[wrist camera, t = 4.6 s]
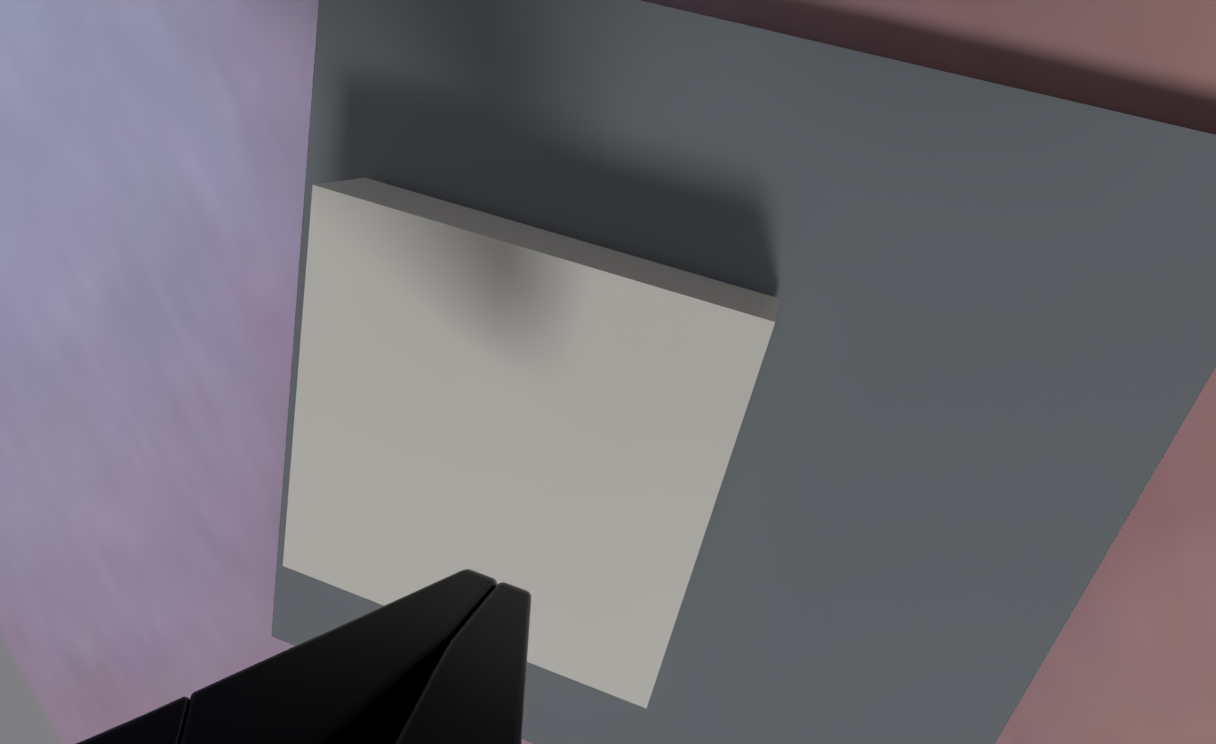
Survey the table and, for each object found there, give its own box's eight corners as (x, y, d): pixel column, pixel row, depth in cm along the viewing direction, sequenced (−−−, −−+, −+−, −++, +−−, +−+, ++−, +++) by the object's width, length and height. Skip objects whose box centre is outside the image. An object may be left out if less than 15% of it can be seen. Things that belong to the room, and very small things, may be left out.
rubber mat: (1309, 160, 10) (1334, 163, 9) (902, 871, 15) (905, 896, 14) (344, -67, 12) (324, -74, 11) (286, 621, 17) (271, 635, 16)
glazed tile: (775, 322, 10) (312, 184, 11) (646, 709, 12) (283, 565, 14) (779, 296, 11) (370, 177, 12) (663, 648, 14) (332, 523, 15)
